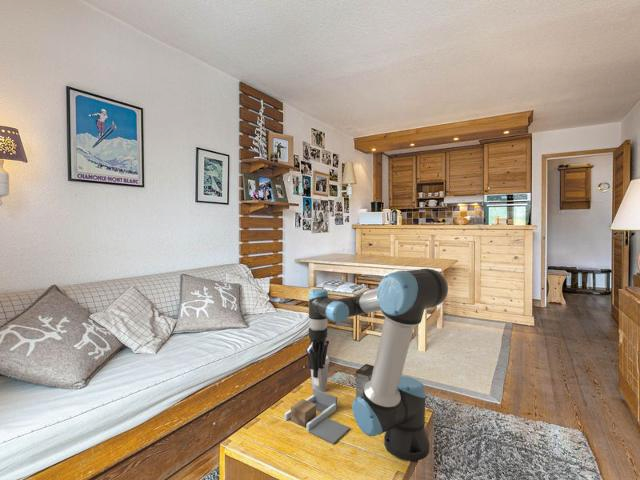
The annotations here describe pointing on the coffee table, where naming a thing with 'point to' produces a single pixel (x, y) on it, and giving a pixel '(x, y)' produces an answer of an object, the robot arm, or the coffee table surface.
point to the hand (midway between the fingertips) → (317, 384)
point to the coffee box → (363, 378)
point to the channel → (319, 407)
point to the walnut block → (303, 412)
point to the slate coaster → (329, 430)
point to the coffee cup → (323, 377)
